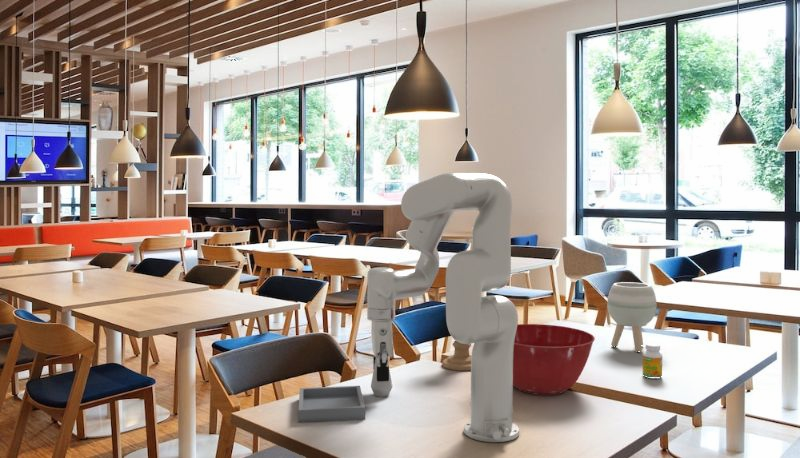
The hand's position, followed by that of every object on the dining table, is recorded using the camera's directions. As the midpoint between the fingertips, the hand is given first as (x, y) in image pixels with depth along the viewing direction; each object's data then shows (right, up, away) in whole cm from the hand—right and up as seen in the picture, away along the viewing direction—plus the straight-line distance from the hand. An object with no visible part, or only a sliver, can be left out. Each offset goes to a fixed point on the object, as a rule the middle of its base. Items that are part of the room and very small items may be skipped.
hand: (380, 375), depth 185 cm
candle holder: (+25, -3, +29) cm, 39 cm away
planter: (+85, -2, +51) cm, 100 cm away
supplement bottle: (+80, -4, +16) cm, 82 cm away
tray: (-12, -6, -12) cm, 18 cm away
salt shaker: (0, -5, 0) cm, 5 cm away
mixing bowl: (+45, -5, +6) cm, 45 cm away
